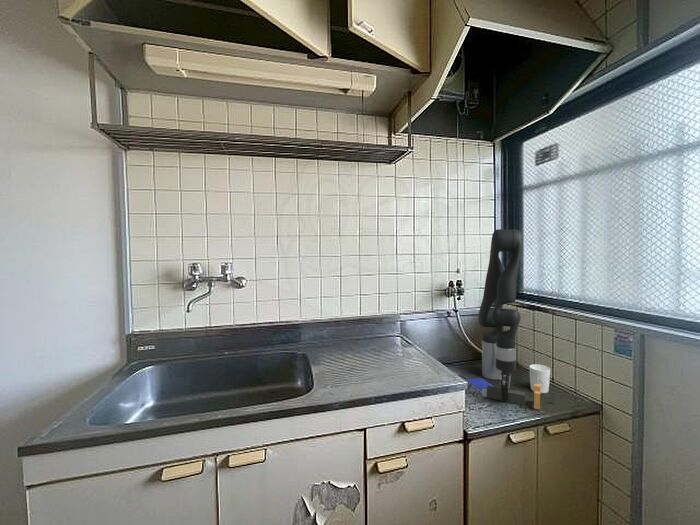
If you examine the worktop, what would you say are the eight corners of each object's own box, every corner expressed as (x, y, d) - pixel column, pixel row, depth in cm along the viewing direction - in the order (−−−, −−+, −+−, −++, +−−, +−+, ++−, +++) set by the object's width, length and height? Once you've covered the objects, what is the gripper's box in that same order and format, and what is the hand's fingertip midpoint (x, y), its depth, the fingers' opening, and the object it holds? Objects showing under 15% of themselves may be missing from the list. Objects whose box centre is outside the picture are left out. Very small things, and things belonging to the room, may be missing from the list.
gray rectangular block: (482, 393, 142) (482, 384, 142) (524, 402, 134) (525, 392, 134) (481, 396, 140) (481, 387, 139) (524, 405, 132) (524, 395, 131)
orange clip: (534, 401, 134) (534, 381, 134) (540, 402, 133) (540, 382, 133) (534, 408, 129) (534, 387, 128) (540, 409, 128) (540, 388, 127)
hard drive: (498, 388, 145) (481, 377, 157) (481, 390, 143) (465, 379, 155) (498, 392, 145) (481, 380, 157) (481, 394, 143) (465, 382, 156)
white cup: (553, 391, 144) (554, 368, 143) (543, 395, 140) (544, 372, 139) (535, 384, 151) (535, 363, 150) (525, 389, 146) (525, 366, 146)
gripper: (514, 364, 128) (514, 408, 129) (517, 353, 140) (516, 393, 141) (493, 361, 131) (493, 404, 132) (497, 351, 143) (497, 390, 144)
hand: (505, 398), depth 136 cm, fingers closed on gray rectangular block, 2 cm apart
